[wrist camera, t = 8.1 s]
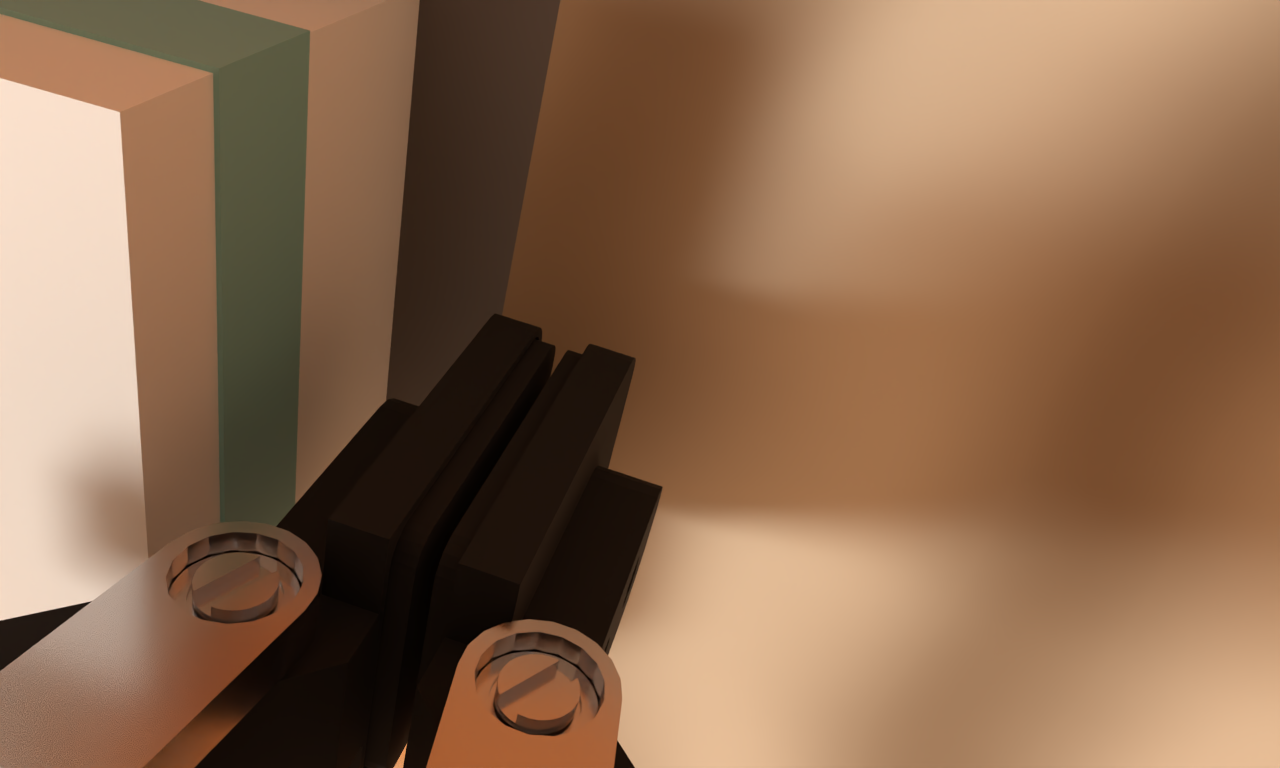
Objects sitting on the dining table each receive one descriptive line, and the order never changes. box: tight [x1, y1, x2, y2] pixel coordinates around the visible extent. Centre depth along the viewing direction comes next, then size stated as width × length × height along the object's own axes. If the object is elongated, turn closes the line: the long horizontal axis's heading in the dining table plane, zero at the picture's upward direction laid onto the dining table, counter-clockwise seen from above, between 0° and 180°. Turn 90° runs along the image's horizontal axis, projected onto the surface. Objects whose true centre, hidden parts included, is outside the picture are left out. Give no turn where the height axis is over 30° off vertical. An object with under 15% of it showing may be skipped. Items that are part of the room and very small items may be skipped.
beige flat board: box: [386, 0, 1280, 768], centre depth 15 cm, size 32×15×2 cm, turn 77°
